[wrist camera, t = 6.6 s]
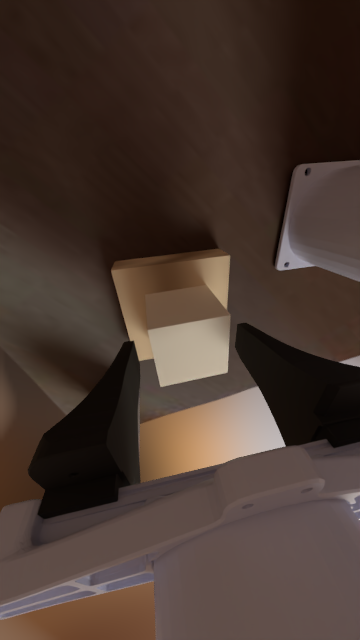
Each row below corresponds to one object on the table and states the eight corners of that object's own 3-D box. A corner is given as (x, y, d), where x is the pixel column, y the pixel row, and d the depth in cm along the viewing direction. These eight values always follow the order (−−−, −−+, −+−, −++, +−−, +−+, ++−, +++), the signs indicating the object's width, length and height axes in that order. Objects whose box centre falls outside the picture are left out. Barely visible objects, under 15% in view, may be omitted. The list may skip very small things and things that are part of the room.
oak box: (217, 247, 17) (230, 255, 15) (215, 329, 22) (224, 345, 20) (115, 260, 16) (110, 270, 14) (136, 342, 21) (135, 361, 19)
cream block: (206, 284, 16) (230, 315, 12) (207, 333, 18) (227, 372, 14) (145, 294, 15) (147, 330, 11) (155, 343, 18) (160, 387, 14)
